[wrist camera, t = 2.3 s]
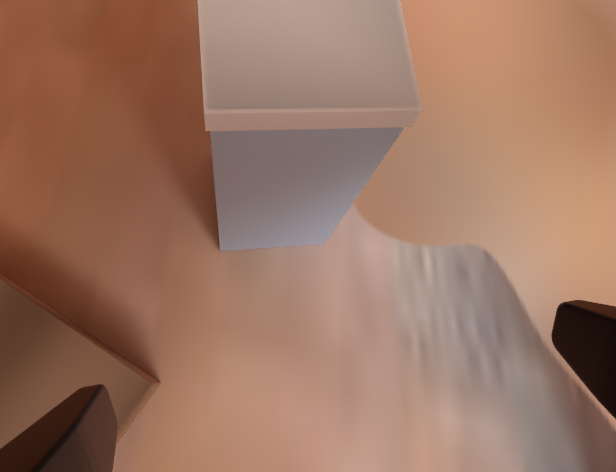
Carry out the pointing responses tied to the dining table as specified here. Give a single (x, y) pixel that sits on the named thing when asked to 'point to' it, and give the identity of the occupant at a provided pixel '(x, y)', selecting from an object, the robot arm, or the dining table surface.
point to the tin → (300, 111)
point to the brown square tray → (57, 365)
